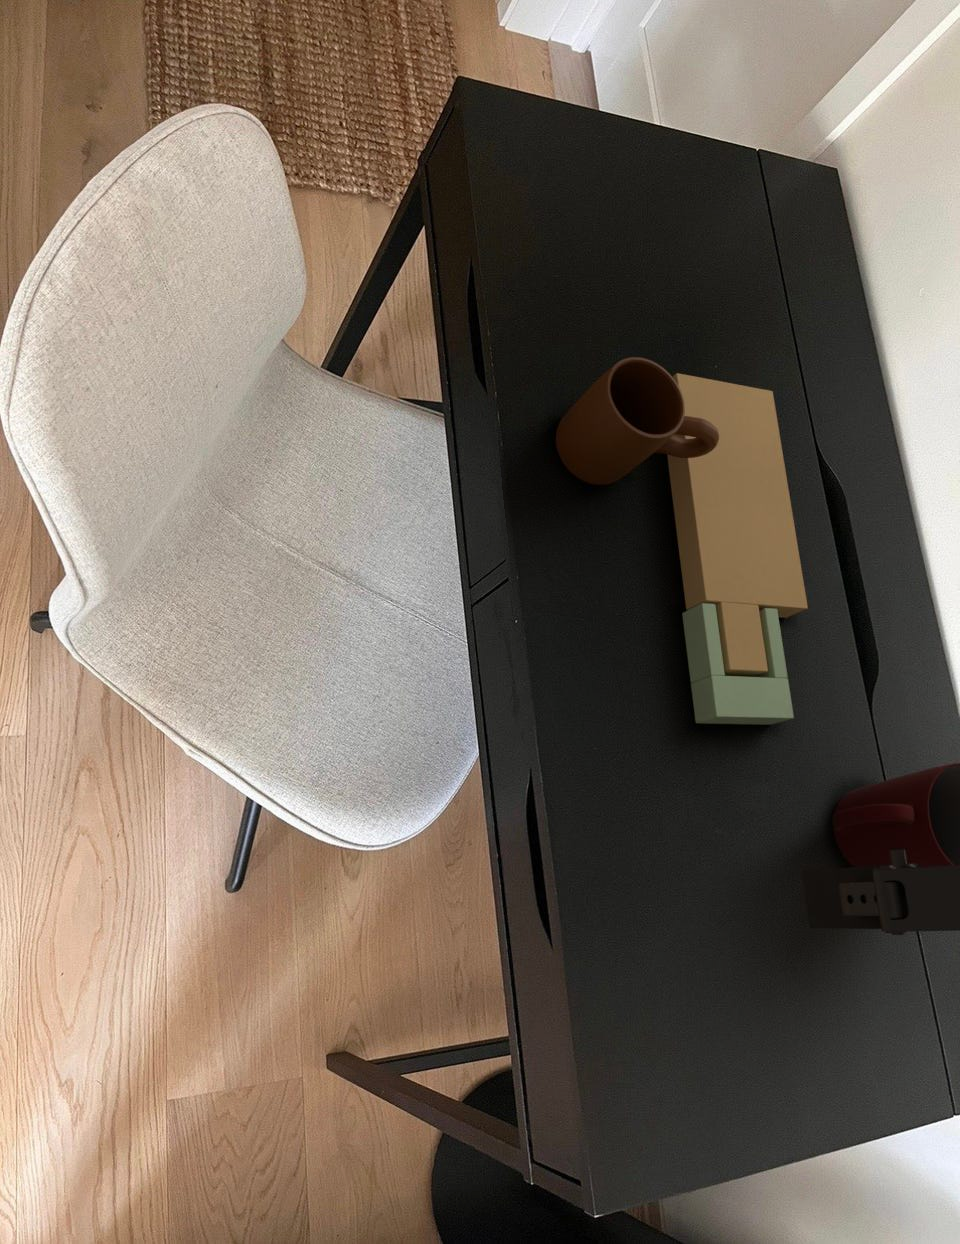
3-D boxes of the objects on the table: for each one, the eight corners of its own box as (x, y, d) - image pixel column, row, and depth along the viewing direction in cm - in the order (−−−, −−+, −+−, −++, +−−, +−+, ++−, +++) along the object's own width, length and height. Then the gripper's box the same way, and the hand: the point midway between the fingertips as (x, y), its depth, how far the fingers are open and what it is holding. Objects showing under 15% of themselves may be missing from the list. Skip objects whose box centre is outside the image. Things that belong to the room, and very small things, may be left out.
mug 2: (799, 875, 78) (901, 870, 68) (793, 771, 81) (891, 751, 71) (908, 886, 82) (1019, 882, 72) (899, 786, 85) (1005, 770, 75)
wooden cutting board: (694, 677, 80) (715, 668, 77) (658, 389, 88) (676, 372, 85) (795, 681, 84) (818, 673, 81) (752, 406, 92) (772, 390, 89)
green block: (771, 724, 81) (794, 718, 79) (695, 723, 78) (716, 716, 76) (755, 618, 84) (777, 608, 81) (681, 613, 81) (701, 602, 78)
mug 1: (672, 445, 86) (735, 395, 78) (663, 516, 83) (728, 472, 75) (559, 398, 83) (612, 340, 74) (546, 470, 80) (599, 419, 72)
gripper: (1582, 758, 35) (1061, 813, 54) (1158, 756, 26) (706, 823, 44) (1664, 968, 33) (1092, 949, 52) (1235, 1049, 24) (726, 990, 42)
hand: (913, 891), depth 48 cm, fingers open, 13 cm apart
